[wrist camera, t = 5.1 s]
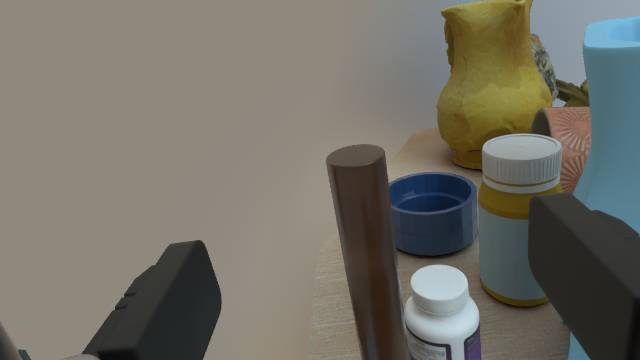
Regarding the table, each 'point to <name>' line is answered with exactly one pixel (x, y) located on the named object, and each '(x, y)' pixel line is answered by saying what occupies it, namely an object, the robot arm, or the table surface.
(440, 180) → the bowl
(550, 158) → the bottle
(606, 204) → the vase
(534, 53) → the rock
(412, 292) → the pill bottle
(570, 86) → the missile
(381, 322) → the stirring stick
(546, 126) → the planter
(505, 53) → the pitcher
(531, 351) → the table surface
